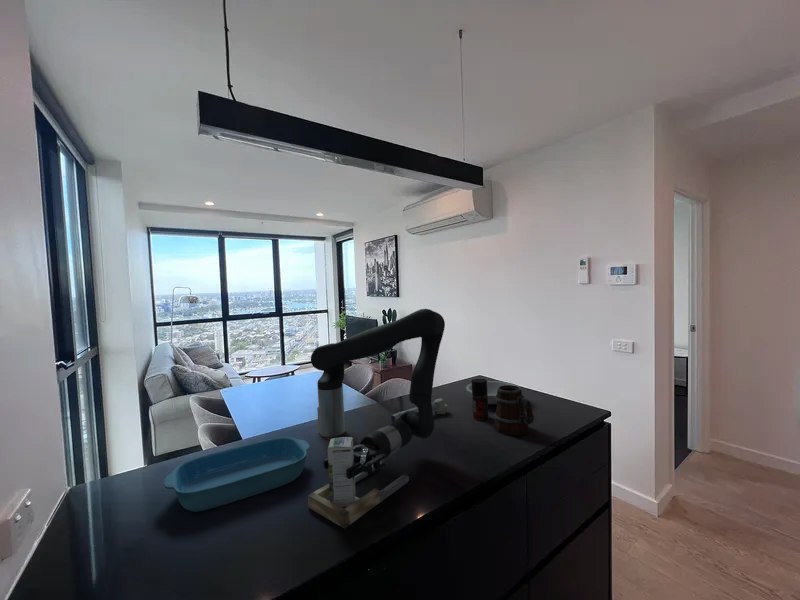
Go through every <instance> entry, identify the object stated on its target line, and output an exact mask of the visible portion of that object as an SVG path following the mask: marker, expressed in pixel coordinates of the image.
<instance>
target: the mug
mask: <svg viewBox="0 0 800 600" xmlns="http://www.w3.org/2000/svg"><path fill="white" fill-rule="evenodd" d="M520 388H521V387H520V386H519V387H517V386H513V385H503V386H500V387H499V388H498V390H497V394H496V396H495V400H497V404H496V409H495V413H494V414H493V418H494V419H495V421H494V423H493V428H494V430H496V431H497V432H498V433H499V434H503V435H507V436H521V435H525V434H527V433H529V425H531V424H532V423H533V422H534V420H535V415H534V414H533V408H532V407H533V405H532V402H531V401H530V400H529V399H528V398H527V397H525V395H523V392H522V389H520Z"/></svg>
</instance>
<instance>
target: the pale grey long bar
mask: <svg viewBox="0 0 800 600" xmlns="http://www.w3.org/2000/svg"><path fill="white" fill-rule="evenodd" d="M431 403H432V410H433V414H434V413H435V414H441V415H442V414H444V415H445V414H446V412H447V413H448V404H446V403H445V400H444V399H443V398H439V397H438V398H437V399H434V400H433V401H431ZM407 411H415V412H419V411H418V407H417V406H414V408H413V407H412V408H410V409H406V410H403V411H398V412H397V413H394V414H391V415H390V421H391V424H392V423H395V422H396V420H397V419H398V418H399V417H400V416H401V415H402V414H403V413H404V412H407ZM435 414H434V415H435Z"/></svg>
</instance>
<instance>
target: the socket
mask: <svg viewBox="0 0 800 600" xmlns="http://www.w3.org/2000/svg"><path fill="white" fill-rule="evenodd" d="M380 491H381V490H380V489H378V488H373V489H372V490H370V491H369V492H367V493H366V494H365V495H363V496H362V497H358V496H356V495H355V502H354V503H353V504H351V505H350V506H348V507H340V506H338V505H336V504H334V503H332V502H330V491H329V483H327V484H325V485H323V486H322V487H320V488H319V489H317V490H315V491H313V492H311V493H309V494H308V495H307V499H308V500H307V502H308V503H307V504H308V509H310V510H312V511H313V512H315V513H317V514H318V515H320V516H322V517H324V518H326V519H328V520H329V521H331V522H332V523H333V524H336V525H337V526H339V527H341V528H342V529H346V528H348V527H349V526H350V525H352V524H353V523H354V522H356V521H357V520H358V519H359V518H361V517H362V516H364V515H365V514H366V513H368V512H369V511H370V510H372V509H373V508H374V507H376V506H377V505H379V504H380V503H381V502H380Z"/></svg>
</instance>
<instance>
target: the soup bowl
mask: <svg viewBox="0 0 800 600" xmlns="http://www.w3.org/2000/svg"><path fill="white" fill-rule="evenodd" d="M503 385H513V386H517V387H520V386H519V385H518V384H516V383H512V382H507V381H499V380H487V396H488V405H497V400H495V396H496V394H497V390H498V388H499V387H500V386H503ZM465 389H466V391H467V392H468V393H470V395H471V396H472V383H469V384H467V385H466V386H465ZM520 389H521V387H520ZM521 390H522V389H521Z"/></svg>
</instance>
